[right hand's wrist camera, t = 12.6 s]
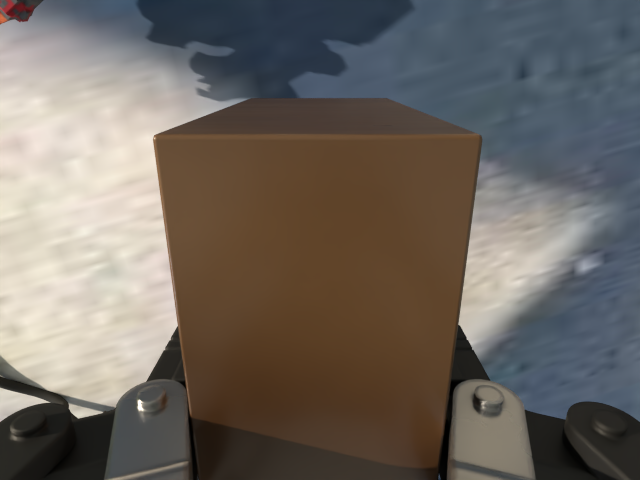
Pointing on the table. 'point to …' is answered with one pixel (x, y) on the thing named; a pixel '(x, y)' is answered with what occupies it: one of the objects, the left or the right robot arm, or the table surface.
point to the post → (318, 284)
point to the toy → (17, 9)
